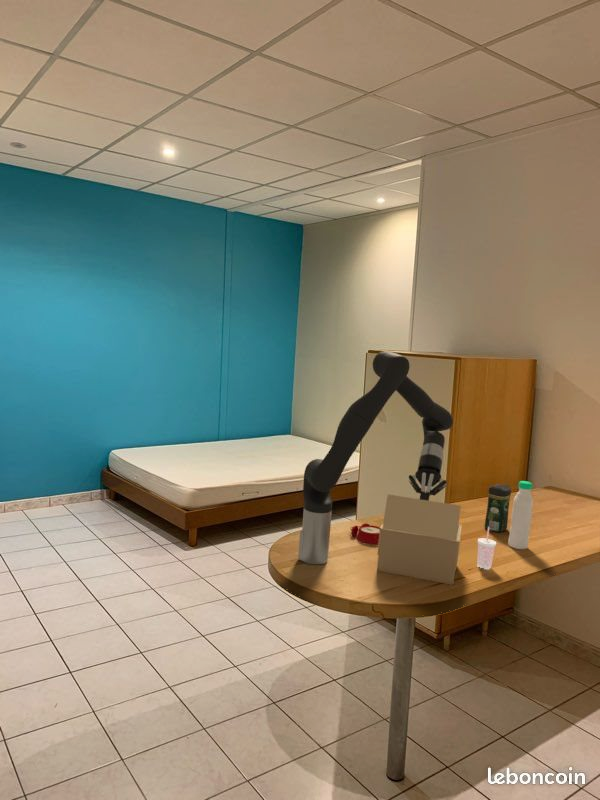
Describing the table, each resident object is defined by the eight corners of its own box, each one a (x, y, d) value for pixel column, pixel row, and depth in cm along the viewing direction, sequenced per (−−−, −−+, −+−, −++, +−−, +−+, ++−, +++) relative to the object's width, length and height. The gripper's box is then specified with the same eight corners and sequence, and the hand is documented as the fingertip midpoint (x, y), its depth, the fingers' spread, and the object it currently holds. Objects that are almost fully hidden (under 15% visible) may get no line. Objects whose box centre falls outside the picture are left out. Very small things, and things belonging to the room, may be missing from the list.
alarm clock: (374, 538, 217) (346, 517, 228) (369, 553, 219) (342, 531, 230) (393, 533, 224) (365, 513, 235) (389, 548, 226) (361, 527, 237)
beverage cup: (470, 564, 208) (475, 525, 206) (482, 562, 212) (487, 523, 210) (485, 571, 203) (490, 530, 201) (497, 568, 207) (502, 528, 205)
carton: (375, 570, 197) (379, 528, 195) (385, 551, 214) (388, 512, 213) (454, 585, 190) (459, 541, 188) (457, 564, 207) (462, 524, 206)
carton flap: (382, 528, 195) (382, 528, 195) (387, 494, 198) (387, 494, 198) (456, 541, 188) (456, 540, 188) (460, 505, 192) (460, 505, 191)
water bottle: (531, 550, 228) (539, 484, 225) (513, 549, 227) (521, 484, 224) (521, 543, 235) (529, 479, 232) (504, 543, 233) (512, 479, 230)
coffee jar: (490, 524, 256) (495, 481, 254) (509, 529, 251) (514, 485, 249) (481, 528, 249) (486, 484, 247) (500, 534, 244) (505, 488, 242)
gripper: (411, 450, 206) (402, 494, 196) (451, 456, 202) (444, 501, 192) (411, 463, 212) (403, 506, 202) (450, 468, 208) (444, 513, 198)
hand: (423, 504), depth 197 cm, fingers closed
